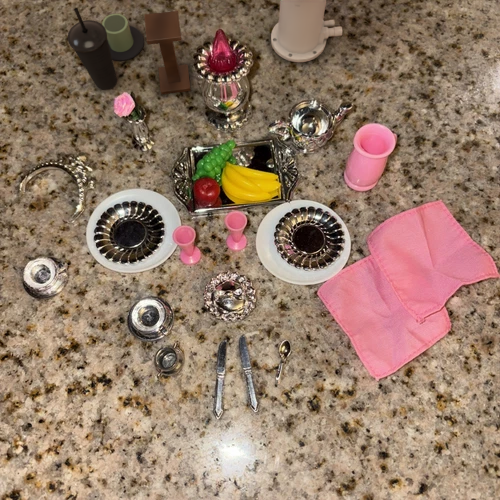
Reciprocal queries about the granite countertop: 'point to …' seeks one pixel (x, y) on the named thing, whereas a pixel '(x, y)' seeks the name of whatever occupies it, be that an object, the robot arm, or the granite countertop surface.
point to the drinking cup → (93, 51)
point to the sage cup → (118, 32)
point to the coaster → (133, 51)
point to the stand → (167, 50)
